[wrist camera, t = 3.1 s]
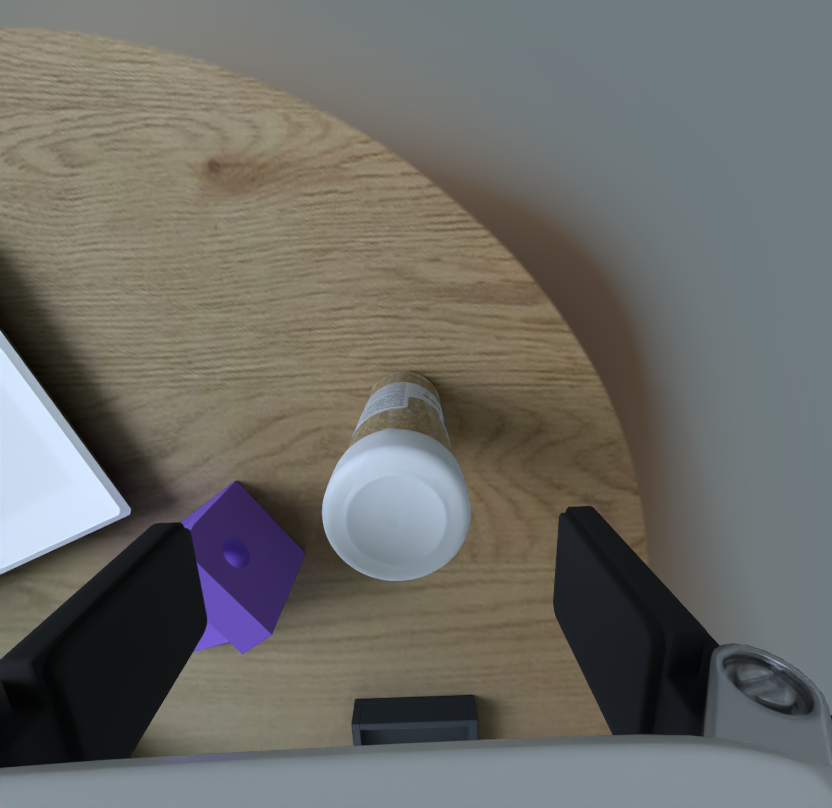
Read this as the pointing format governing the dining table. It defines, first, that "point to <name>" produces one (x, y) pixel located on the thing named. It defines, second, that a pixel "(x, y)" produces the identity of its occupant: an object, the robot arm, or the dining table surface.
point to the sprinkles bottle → (398, 486)
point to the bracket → (241, 568)
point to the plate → (45, 470)
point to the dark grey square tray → (414, 720)
